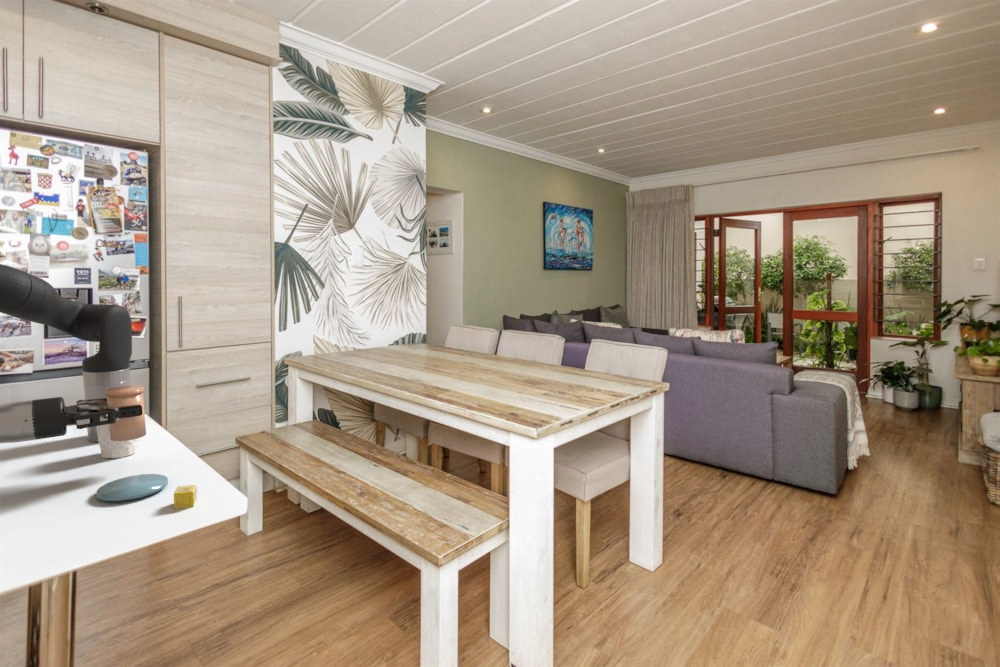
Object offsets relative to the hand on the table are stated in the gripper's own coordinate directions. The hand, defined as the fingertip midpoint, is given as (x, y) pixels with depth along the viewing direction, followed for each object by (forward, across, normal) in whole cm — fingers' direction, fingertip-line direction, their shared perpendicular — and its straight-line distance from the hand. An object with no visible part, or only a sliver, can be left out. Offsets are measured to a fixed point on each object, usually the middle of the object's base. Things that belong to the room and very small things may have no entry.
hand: (140, 406), depth 106 cm
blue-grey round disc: (-3, -12, +13) cm, 19 cm away
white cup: (-4, +14, +14) cm, 20 cm away
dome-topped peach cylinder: (-2, 0, +6) cm, 7 cm away
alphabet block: (+4, -24, +14) cm, 28 cm away
